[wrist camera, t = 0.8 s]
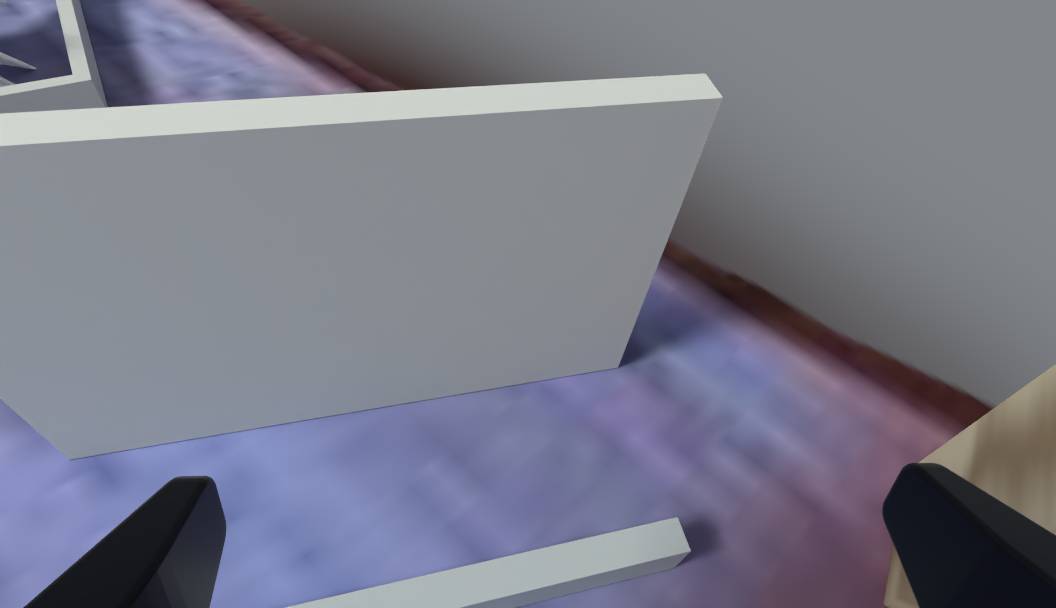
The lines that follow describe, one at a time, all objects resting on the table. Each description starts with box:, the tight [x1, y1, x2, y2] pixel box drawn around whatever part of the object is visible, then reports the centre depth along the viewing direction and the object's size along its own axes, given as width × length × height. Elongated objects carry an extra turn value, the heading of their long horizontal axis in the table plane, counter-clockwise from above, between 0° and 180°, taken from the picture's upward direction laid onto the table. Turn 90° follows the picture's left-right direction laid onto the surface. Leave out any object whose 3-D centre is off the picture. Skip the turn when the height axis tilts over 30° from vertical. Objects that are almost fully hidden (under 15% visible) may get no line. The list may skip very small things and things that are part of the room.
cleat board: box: [0, 74, 723, 608], centre depth 19 cm, size 14×22×14 cm, turn 104°
